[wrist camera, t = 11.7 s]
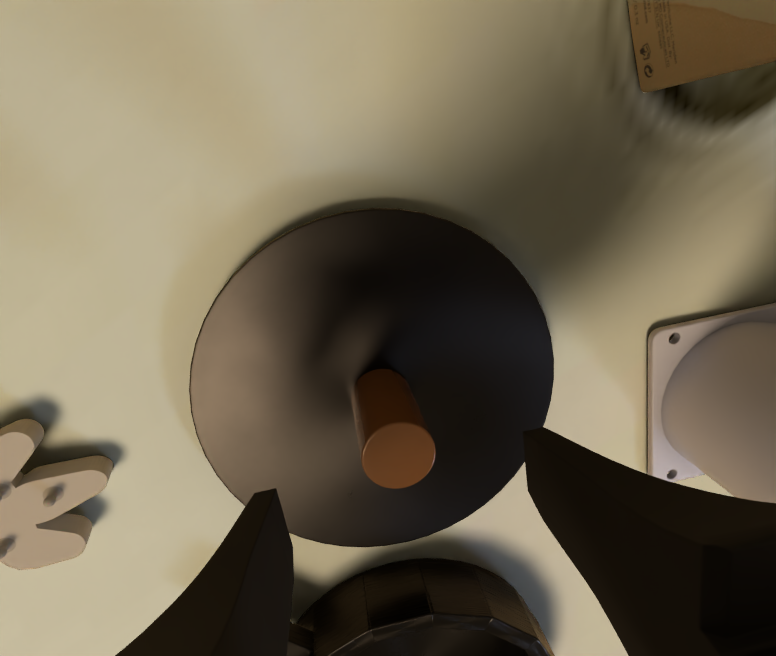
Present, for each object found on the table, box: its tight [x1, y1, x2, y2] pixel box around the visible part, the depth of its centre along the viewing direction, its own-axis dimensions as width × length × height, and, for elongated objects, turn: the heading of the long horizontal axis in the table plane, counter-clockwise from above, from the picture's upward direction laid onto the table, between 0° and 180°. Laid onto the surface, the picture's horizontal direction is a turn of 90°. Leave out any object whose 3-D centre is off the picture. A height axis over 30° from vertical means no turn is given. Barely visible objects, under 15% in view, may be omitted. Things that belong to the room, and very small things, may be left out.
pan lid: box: [189, 208, 554, 547], centre depth 18 cm, size 15×15×6 cm
